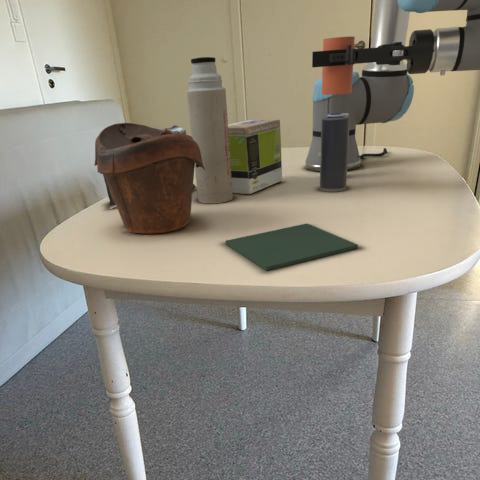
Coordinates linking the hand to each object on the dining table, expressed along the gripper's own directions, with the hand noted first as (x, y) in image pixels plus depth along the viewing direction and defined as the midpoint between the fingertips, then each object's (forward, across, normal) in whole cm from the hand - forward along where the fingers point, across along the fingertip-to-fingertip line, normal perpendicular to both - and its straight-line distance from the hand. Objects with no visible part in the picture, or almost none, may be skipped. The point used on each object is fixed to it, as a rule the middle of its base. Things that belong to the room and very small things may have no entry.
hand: (312, 59), depth 92 cm
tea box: (+15, +4, -27) cm, 31 cm away
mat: (+3, -40, -26) cm, 48 cm away
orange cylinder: (-5, 0, -6) cm, 8 cm away
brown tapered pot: (+28, -27, -26) cm, 47 cm away
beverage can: (-6, +13, -27) cm, 30 cm away
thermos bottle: (+21, -8, -27) cm, 35 cm away
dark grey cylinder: (-5, 0, -26) cm, 27 cm away
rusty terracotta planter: (+37, -4, -27) cm, 46 cm away
